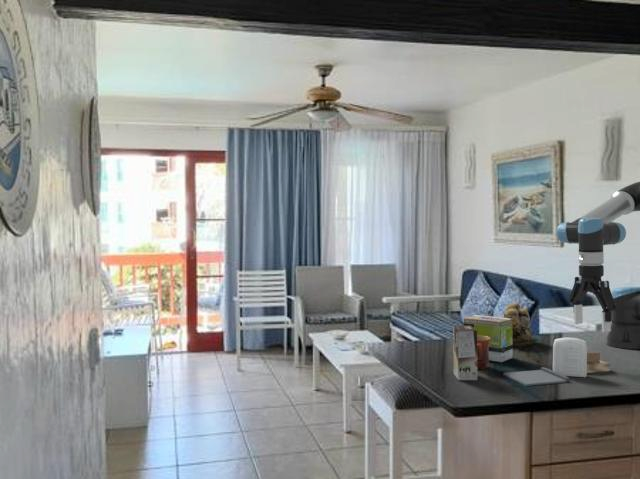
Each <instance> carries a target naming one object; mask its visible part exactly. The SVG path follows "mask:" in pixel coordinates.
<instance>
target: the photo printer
mask: <svg viewBox="0 0 640 479" xmlns="http://www.w3.org/2000/svg"><path fill="white" fill-rule="evenodd" d="M587 351H588V346H587V342H586V341H585V340H583V339H580V338H576V337H568V336H567V337H559V338H555V339H554V341H553V344H552V371H554V372H557V373H559V374H561V375H564V376H566V377H573V378H574V377H575V378H576V377H577V378H587V375H588V373H587Z"/></svg>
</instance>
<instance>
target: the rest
mask: <svg viewBox="0 0 640 479" xmlns="http://www.w3.org/2000/svg"><path fill="white" fill-rule="evenodd" d="M610 371H611V362H610V363H609V362H607V361H604V360H601V359H600V363H592V364H587V374H589V373H590V374H591V373H602V372H603V373H604V372H610Z"/></svg>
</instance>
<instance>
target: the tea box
mask: <svg viewBox="0 0 640 479" xmlns="http://www.w3.org/2000/svg"><path fill="white" fill-rule="evenodd" d="M463 325H469V326H472V327H473V328H475V329H476V330H477V335H482V336H488V337H490V338H491V341H490V344H489V361H492V362H496V363H503V362H506V361H508V360H510V359H513V356H514V354H513V350H514V349H513V331H512V318H503V317H500V316H491V315H481V314H474V315H471V316H467V317H463Z"/></svg>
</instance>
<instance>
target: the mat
mask: <svg viewBox="0 0 640 479" xmlns="http://www.w3.org/2000/svg"><path fill="white" fill-rule="evenodd" d="M503 376H505V377H507V378H509V379H511V380H513V381H515V382H517V383H520V384H521V385H523V386H525V387H528V386H529V387H530V386H531V387H532V386H542V385H551V384H552V385H553V384H561V383H562V384H563V383H570V376H564V375H561V374H559V373H557V372H554V371H553V369H552V370H551V369H549V368H547V367H543V366H542V367H540V369H536V370H522V371H511V372H510V371H509V372H503Z"/></svg>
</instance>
